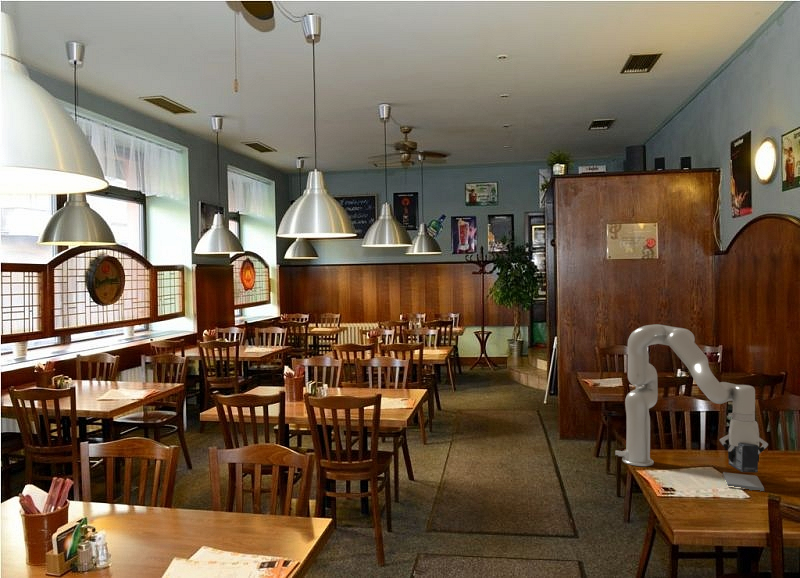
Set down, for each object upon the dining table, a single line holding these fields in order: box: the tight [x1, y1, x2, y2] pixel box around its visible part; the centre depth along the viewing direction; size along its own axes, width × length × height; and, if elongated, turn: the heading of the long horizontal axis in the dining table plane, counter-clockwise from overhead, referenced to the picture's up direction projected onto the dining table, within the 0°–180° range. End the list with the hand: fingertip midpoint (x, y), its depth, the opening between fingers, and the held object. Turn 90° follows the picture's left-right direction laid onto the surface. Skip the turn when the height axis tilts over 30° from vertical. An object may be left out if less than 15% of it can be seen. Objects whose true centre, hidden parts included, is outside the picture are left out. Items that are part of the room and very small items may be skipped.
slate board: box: [722, 471, 765, 492], centre depth 237 cm, size 12×15×2 cm
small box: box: [728, 442, 759, 473], centre depth 237 cm, size 11×6×10 cm, turn 178°
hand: (743, 462), depth 237 cm, fingers closed on small box, 7 cm apart
